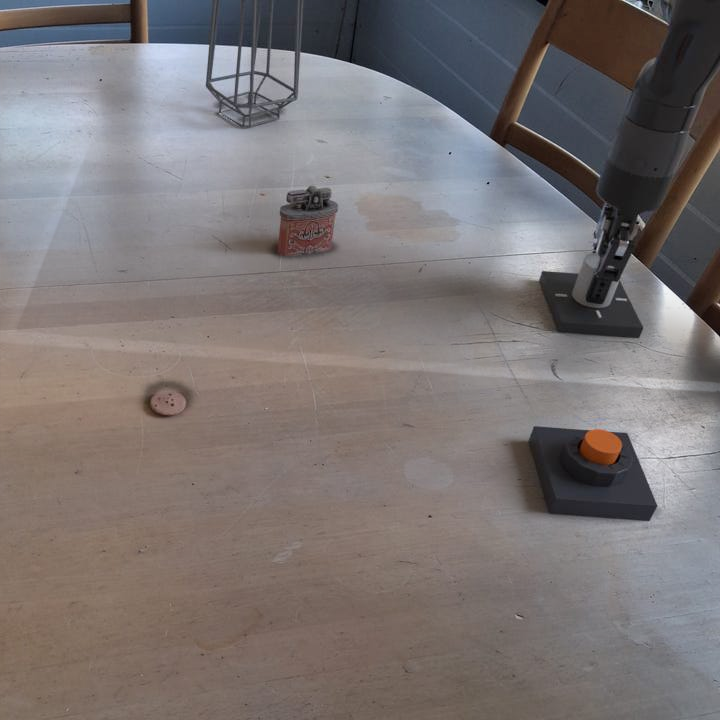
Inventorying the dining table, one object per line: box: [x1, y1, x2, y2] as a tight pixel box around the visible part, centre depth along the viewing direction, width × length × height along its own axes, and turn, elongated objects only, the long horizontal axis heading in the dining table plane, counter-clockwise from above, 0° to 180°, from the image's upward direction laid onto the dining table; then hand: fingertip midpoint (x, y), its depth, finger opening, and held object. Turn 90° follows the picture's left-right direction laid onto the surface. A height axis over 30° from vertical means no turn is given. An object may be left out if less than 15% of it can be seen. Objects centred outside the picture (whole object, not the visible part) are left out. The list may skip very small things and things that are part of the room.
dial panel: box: [538, 270, 644, 339], centre depth 115 cm, size 10×12×3 cm
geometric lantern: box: [205, 0, 304, 128], centre depth 145 cm, size 16×16×35 cm
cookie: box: [149, 390, 187, 416], centre depth 98 cm, size 4×4×1 cm
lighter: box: [277, 185, 339, 257], centre depth 119 cm, size 8×3×10 cm, turn 111°
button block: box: [528, 425, 658, 522], centre depth 92 cm, size 10×11×4 cm
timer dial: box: [572, 252, 621, 308], centre depth 112 cm, size 5×5×5 cm
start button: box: [580, 428, 622, 465], centre depth 90 cm, size 4×4×2 cm
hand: (593, 289), depth 113 cm, fingers closed on timer dial, 5 cm apart
